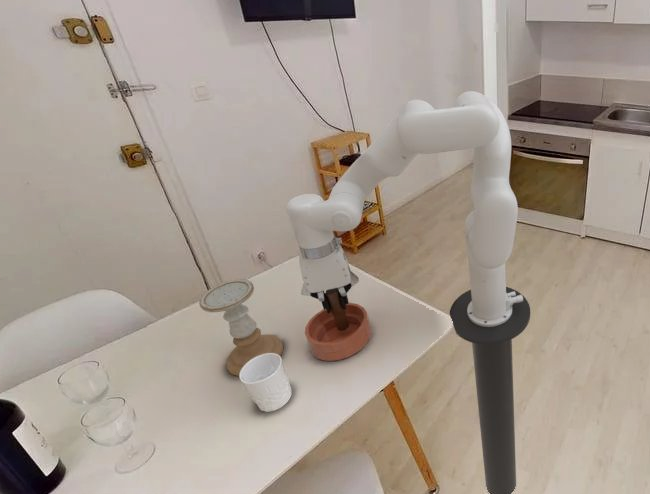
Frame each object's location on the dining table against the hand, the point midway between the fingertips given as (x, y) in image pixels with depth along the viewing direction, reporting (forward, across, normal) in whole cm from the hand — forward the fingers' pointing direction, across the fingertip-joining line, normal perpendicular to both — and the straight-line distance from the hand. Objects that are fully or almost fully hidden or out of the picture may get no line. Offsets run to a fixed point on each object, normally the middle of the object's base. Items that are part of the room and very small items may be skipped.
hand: (337, 307), depth 102 cm
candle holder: (+10, +21, 0) cm, 23 cm away
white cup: (+10, +15, +15) cm, 23 cm away
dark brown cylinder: (+7, 0, 0) cm, 7 cm away
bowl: (+9, +1, +2) cm, 9 cm away
